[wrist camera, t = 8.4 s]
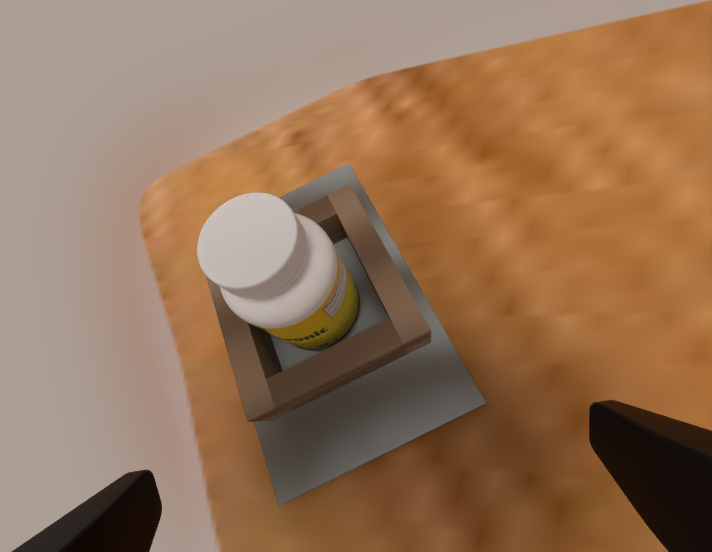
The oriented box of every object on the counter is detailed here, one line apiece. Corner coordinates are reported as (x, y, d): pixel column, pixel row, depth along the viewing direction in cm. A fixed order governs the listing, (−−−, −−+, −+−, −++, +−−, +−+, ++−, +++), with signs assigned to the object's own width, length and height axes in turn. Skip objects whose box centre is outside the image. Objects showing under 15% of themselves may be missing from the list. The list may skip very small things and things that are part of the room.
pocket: (484, 403, 19) (496, 400, 16) (284, 502, 19) (252, 520, 16) (350, 170, 27) (338, 132, 23) (206, 242, 27) (173, 215, 23)
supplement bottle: (265, 341, 22) (153, 288, 13) (294, 262, 24) (211, 167, 15) (348, 363, 21) (286, 321, 12) (372, 277, 22) (333, 182, 13)
